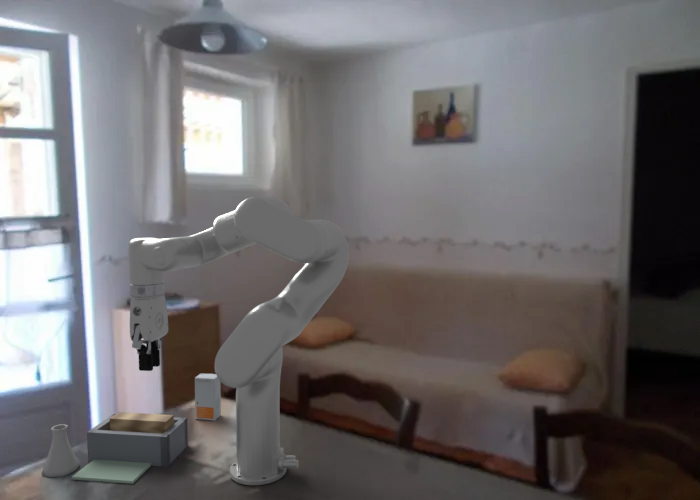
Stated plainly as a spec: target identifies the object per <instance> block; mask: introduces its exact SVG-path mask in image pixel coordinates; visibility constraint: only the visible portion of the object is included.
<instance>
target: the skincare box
mask: <svg viewBox="0 0 700 500" xmlns="http://www.w3.org/2000/svg"><path fill="white" fill-rule="evenodd" d="M221 384H222V383H221V381H220V380H219V379H218V377H217V375H216V373H199V374H198V375H197V376H195V377H194V417H195V418H194V419H195V420H204V421H213V422H214V421H215V422H216V420H218V419H219V417H221V416H222V414H221V413H222V405H221V404H222V403H221V401H222V400H221V395H222V392H221Z"/></svg>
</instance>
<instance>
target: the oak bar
mask: <svg viewBox="0 0 700 500" xmlns="http://www.w3.org/2000/svg"><path fill="white" fill-rule="evenodd" d="M115 414H116V415H114V416H113V417H111V418H110V431H125V432H142V433H159V434H164V433H165V432H166V431H167V430H168V429H169V428H170V427H171V426H173V425H174V417H175V416H174V414H159V413H142V412H141V413H140V412H124V411H123V412H122V411H118V412H117V413H115Z"/></svg>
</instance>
